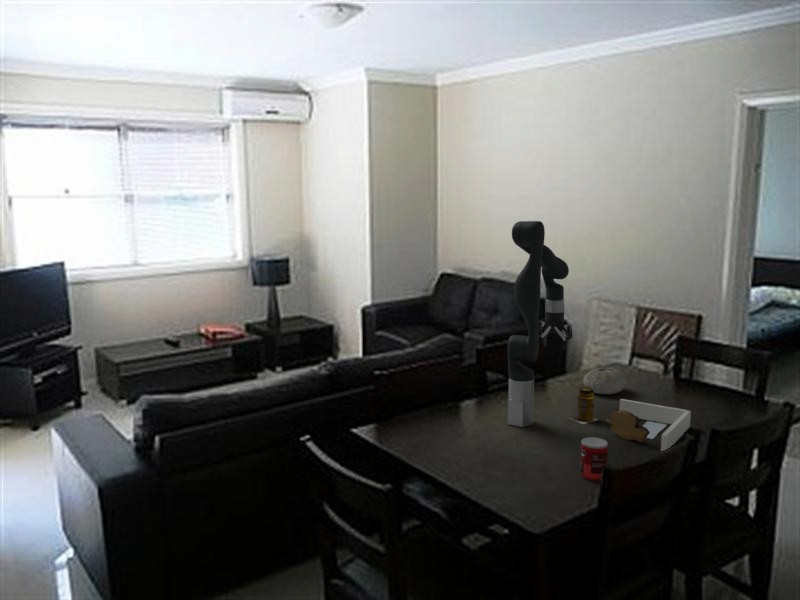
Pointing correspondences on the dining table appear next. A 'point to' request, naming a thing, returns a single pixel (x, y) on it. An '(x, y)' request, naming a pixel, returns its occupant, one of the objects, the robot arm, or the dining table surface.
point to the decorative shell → (605, 380)
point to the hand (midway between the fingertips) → (554, 347)
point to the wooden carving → (627, 426)
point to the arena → (661, 418)
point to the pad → (653, 428)
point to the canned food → (593, 457)
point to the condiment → (585, 406)
